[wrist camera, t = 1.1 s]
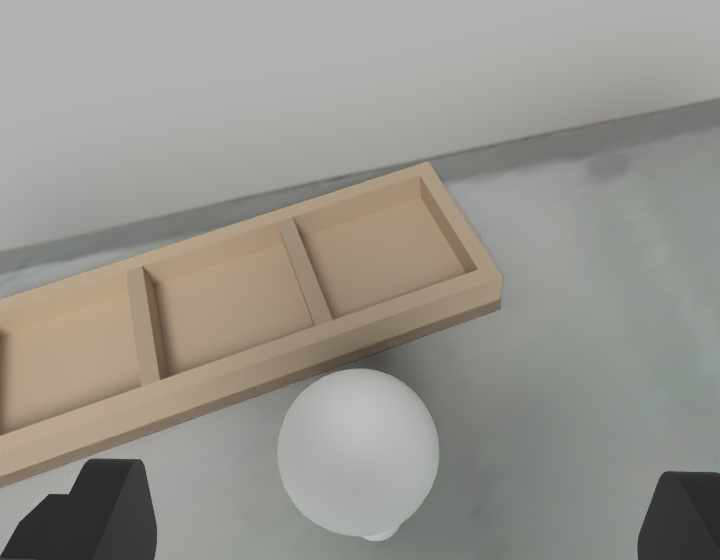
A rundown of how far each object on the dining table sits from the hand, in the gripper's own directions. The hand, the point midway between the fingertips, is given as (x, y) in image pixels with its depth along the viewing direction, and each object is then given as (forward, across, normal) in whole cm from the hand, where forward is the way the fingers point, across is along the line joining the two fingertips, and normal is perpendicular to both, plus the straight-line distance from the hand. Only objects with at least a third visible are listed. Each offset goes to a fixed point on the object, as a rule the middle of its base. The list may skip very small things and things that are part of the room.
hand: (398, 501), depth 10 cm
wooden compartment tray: (+25, +8, +14) cm, 30 cm away
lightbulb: (+14, -1, +17) cm, 22 cm away
